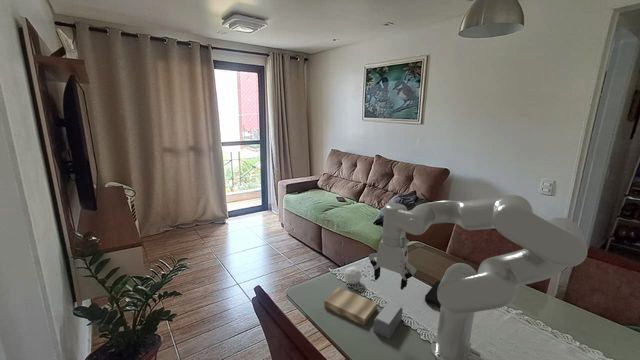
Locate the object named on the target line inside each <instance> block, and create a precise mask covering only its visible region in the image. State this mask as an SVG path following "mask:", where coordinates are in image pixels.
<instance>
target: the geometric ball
mask: <svg viewBox="0 0 640 360" xmlns="http://www.w3.org/2000/svg"><path fill="white" fill-rule="evenodd" d="M343 275H344V276H343V277H344V280H345V281H346V283H348V284H350V285H355V284H357V283H359V282H361V278H362V274H361V271H360V269H359V268H357V267H356V266H349V267H347V268H345V271H344V274H343Z"/></svg>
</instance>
